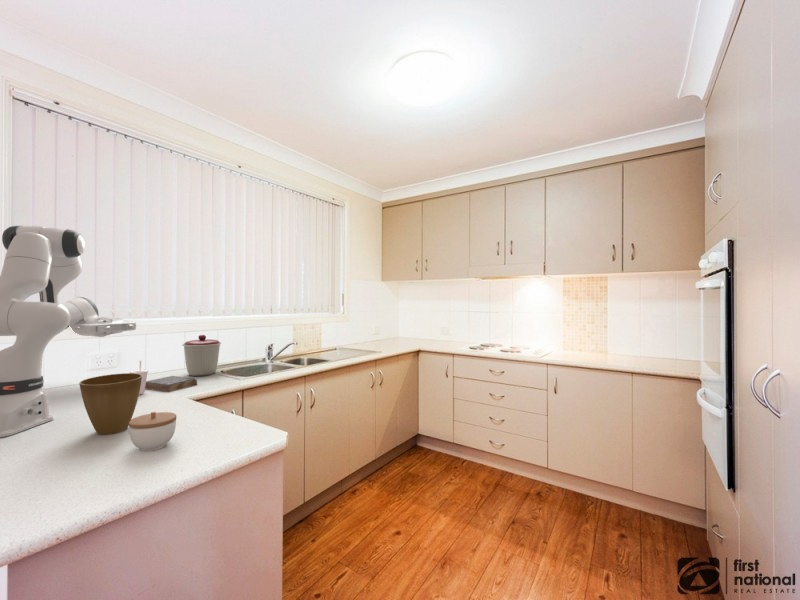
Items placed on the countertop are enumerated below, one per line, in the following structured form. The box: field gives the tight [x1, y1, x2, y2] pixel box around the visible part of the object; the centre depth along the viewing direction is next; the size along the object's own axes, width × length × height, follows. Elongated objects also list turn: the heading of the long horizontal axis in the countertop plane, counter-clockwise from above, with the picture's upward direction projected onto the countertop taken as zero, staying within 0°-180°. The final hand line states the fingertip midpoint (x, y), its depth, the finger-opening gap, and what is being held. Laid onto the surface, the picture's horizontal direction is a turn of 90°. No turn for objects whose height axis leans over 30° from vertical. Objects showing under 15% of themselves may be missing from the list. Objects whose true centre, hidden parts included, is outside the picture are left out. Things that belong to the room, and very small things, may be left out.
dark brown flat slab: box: [145, 375, 198, 393], centre depth 165 cm, size 14×16×3 cm
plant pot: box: [78, 372, 142, 436], centre depth 110 cm, size 15×15×16 cm
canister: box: [182, 334, 222, 377], centre depth 192 cm, size 18×18×21 cm
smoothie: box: [129, 360, 149, 396], centre depth 152 cm, size 6×6×14 cm
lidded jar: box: [128, 411, 177, 452], centre depth 98 cm, size 11×11×9 cm
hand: (120, 327), depth 156 cm, fingers open, 8 cm apart
